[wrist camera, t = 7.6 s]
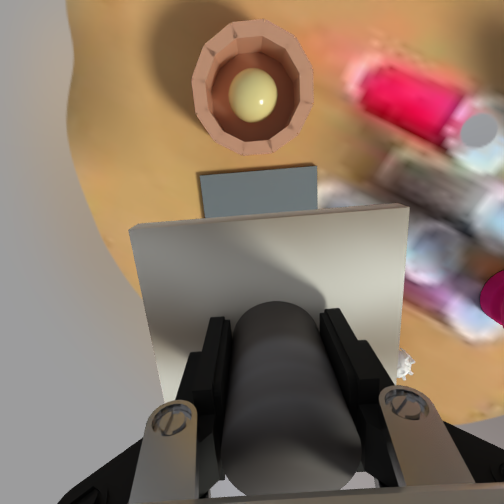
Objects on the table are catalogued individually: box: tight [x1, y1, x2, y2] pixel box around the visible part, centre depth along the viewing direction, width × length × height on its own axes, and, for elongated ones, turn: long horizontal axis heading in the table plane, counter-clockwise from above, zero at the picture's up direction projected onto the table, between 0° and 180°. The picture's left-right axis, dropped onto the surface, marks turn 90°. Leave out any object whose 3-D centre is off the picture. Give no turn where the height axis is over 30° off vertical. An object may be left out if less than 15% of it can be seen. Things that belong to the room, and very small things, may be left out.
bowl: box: [191, 19, 314, 156], centre depth 25 cm, size 9×9×4 cm
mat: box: [200, 166, 318, 218], centre depth 30 cm, size 11×11×1 cm
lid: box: [129, 203, 410, 496], centre depth 10 cm, size 10×10×6 cm
